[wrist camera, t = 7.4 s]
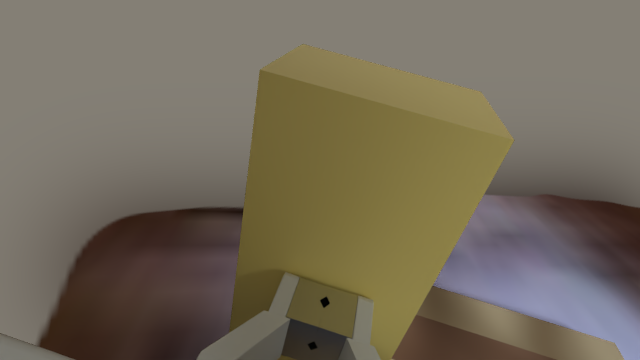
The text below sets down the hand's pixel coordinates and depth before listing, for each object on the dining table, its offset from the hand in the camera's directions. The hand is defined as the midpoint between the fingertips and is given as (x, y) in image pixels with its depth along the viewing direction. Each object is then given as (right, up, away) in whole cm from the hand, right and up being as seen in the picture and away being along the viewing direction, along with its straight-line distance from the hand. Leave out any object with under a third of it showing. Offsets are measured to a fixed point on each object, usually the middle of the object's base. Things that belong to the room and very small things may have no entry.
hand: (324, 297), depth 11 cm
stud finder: (-1, -3, +5) cm, 6 cm away
